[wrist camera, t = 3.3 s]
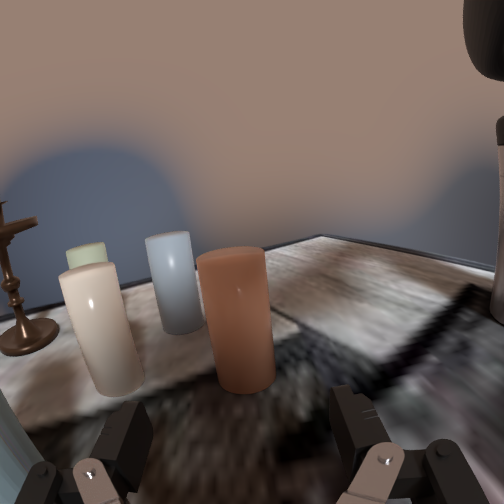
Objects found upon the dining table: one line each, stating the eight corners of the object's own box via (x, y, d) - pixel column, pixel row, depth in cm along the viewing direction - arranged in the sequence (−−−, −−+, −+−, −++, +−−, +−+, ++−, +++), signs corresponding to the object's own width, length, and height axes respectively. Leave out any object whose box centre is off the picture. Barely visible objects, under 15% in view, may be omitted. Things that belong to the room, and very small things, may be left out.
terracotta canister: (243, 355, 27) (228, 244, 24) (287, 369, 24) (277, 248, 22) (206, 381, 24) (182, 261, 21) (251, 401, 21) (233, 269, 18)
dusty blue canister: (185, 312, 37) (171, 230, 35) (212, 321, 34) (198, 231, 32) (155, 327, 34) (136, 240, 31) (180, 338, 31) (161, 242, 28)
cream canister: (127, 361, 27) (100, 259, 24) (154, 379, 24) (124, 265, 22) (87, 381, 24) (52, 275, 21) (110, 404, 21) (68, 285, 18)
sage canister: (113, 318, 37) (95, 241, 34) (131, 328, 34) (111, 243, 31) (82, 331, 33) (61, 251, 31) (97, 343, 30) (73, 254, 28)
